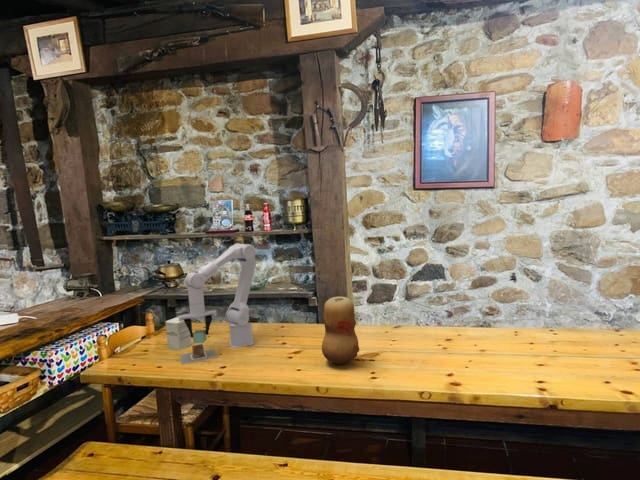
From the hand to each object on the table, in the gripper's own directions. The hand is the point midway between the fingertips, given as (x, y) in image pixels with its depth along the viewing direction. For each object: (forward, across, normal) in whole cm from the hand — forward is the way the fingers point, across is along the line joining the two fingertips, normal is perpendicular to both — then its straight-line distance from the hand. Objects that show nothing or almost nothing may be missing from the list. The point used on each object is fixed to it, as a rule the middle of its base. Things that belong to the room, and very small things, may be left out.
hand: (199, 335), depth 170 cm
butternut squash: (+10, -47, +33) cm, 58 cm away
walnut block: (+9, +1, -1) cm, 9 cm away
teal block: (+2, 0, 0) cm, 2 cm away
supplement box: (+10, +7, -17) cm, 21 cm away
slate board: (+9, +1, -1) cm, 10 cm away
